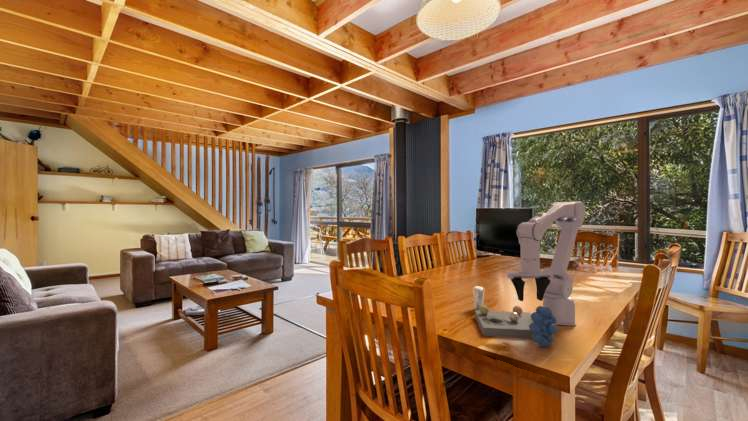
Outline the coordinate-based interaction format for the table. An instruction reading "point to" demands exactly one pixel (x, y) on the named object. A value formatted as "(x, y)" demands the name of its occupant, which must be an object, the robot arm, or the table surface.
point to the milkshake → (478, 297)
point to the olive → (484, 309)
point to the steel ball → (514, 316)
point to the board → (504, 324)
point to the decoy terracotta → (517, 310)
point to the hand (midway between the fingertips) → (530, 300)
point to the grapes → (543, 326)
